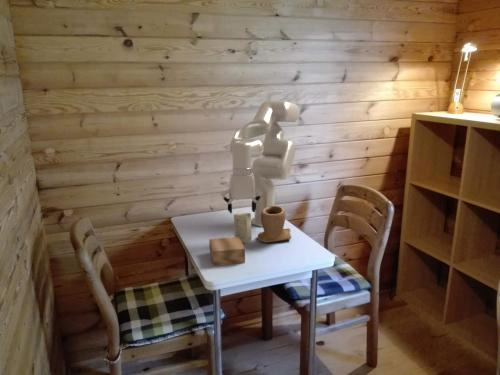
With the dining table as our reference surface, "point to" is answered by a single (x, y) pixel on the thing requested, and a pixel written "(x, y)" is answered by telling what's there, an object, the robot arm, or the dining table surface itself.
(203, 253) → the dining table surface
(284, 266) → the dining table surface
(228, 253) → the walnut block
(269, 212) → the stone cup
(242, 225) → the skincare box
